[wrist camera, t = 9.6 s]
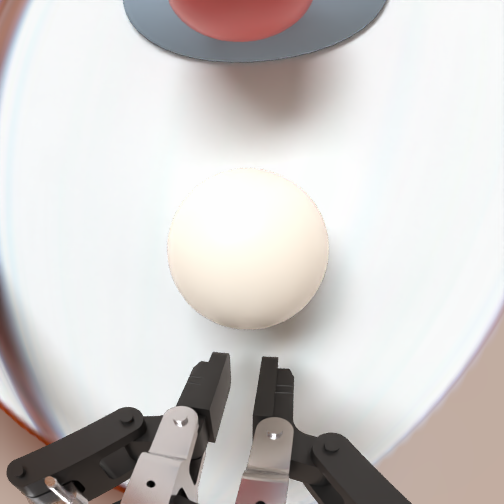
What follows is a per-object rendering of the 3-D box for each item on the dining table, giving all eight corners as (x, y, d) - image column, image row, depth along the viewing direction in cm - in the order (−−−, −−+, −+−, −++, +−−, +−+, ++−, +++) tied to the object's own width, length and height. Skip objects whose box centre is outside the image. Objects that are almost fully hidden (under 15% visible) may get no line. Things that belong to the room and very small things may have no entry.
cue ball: (179, 166, 6) (233, 125, 10) (123, 310, 9) (178, 228, 13) (379, 287, 7) (349, 199, 11) (264, 379, 10) (277, 283, 14)
